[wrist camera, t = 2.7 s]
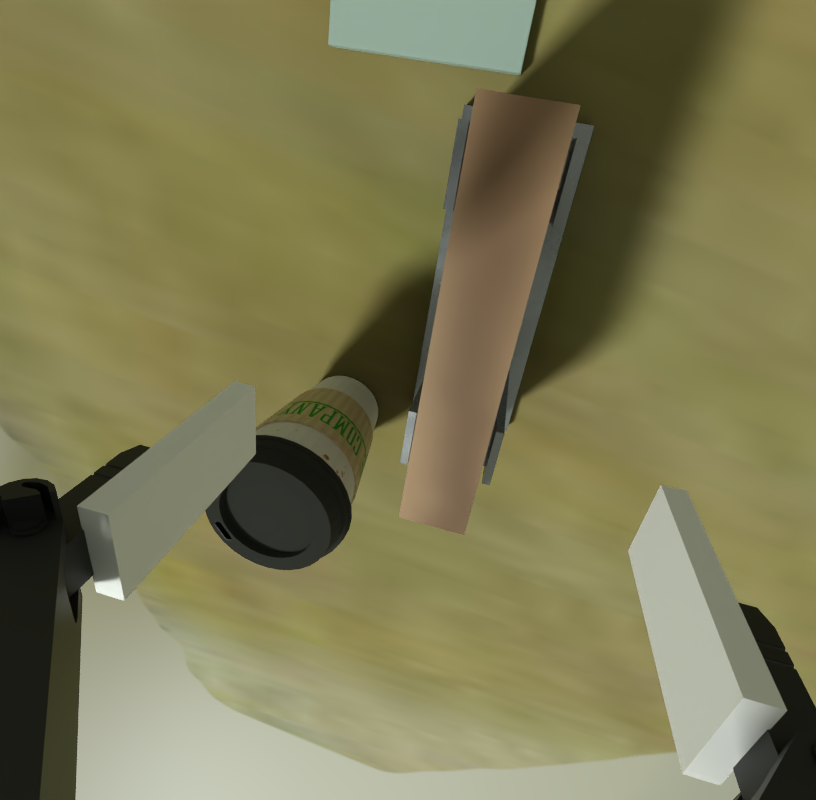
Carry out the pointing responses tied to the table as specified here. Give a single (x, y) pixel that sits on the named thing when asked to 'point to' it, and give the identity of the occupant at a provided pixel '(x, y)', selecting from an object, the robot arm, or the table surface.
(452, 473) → the rail
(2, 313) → the table surface
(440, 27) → the mat
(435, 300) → the standards
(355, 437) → the coffee cup
